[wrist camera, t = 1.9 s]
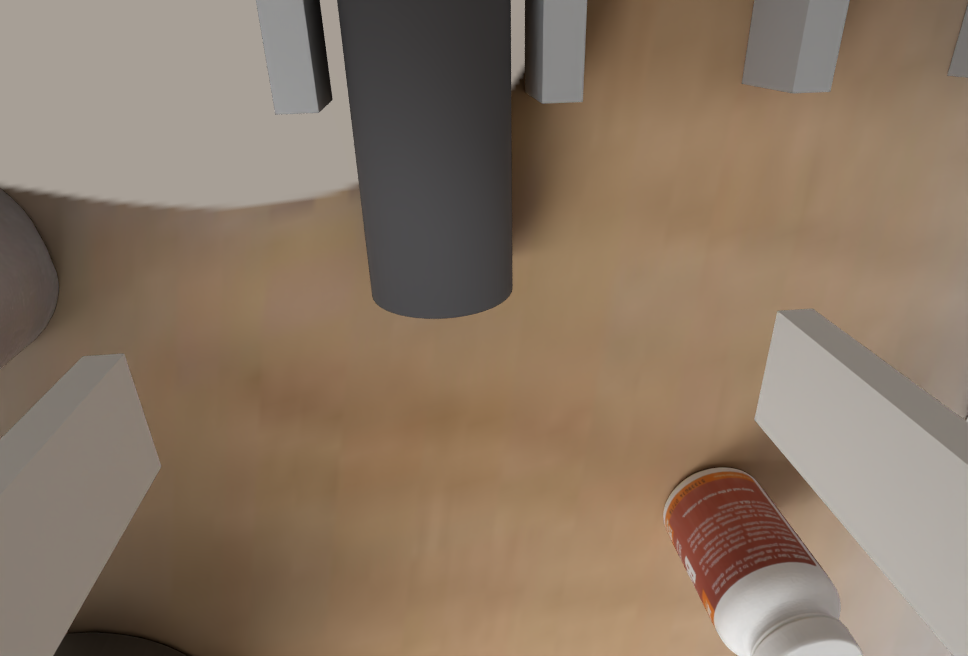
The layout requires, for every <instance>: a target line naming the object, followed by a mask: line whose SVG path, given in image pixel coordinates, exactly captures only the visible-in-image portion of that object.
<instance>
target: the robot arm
mask: <svg viewBox="0 0 968 656" xmlns="http://www.w3.org/2000/svg"><path fill="white" fill-rule="evenodd" d="M755 421H756V422H757V423H758V425H759V426H760V427H761V428H762V429H763V431H764V432H765V433H766V434H767V435H768V437H769V438H770V439H771V440H772V441H773V442H774V444H775V445H776V446H777V447H778V448H779V450H780V451H781V452H782V453H783V454H784V456H785V457H786V458H787V459H788V460H789V461H790V463H791V464H792V465H793V466H794V467H795V469H796V470H797V471H798V472H799V473H800V475H801V476H802V477H803V478H804V479H805V480H806V482H807V483H808V484H809V485H810V486H811V488H812V489H813V490H814V491H815V492H816V494H817V495H818V496H819V497H820V498H821V499H822V501H823V502H824V503H825V504H826V505H827V507H828V508H829V509H830V510H831V511H832V513H833V514H834V515H835V516H836V517H837V518H838V520H839V521H840V522H841V523H842V524H843V526H844V527H845V528H846V529H847V530H848V532H849V533H850V534H851V535H852V536H853V537H854V539H855V540H856V541H857V542H858V543H859V545H860V546H861V547H862V548H863V549H864V551H865V552H866V553H867V554H868V555H869V557H870V558H871V559H872V560H873V561H874V562H875V564H876V565H877V566H878V567H879V568H880V570H881V571H882V572H883V573H884V574H885V576H886V577H887V578H888V579H889V580H890V581H891V583H892V584H893V585H894V586H895V587H896V589H897V590H898V591H899V592H900V593H901V595H902V596H903V597H904V598H905V599H906V600H907V602H908V603H909V604H910V605H911V606H912V608H913V609H914V610H915V611H916V612H917V614H918V615H919V616H920V617H921V618H922V619H923V621H924V622H925V623H926V624H927V625H928V627H929V628H930V629H931V630H932V631H933V633H934V634H935V635H936V636H937V637H938V638H939V640H940V641H941V642H942V643H943V644H944V646H945V647H946V648H947V649H948V650H949V652H950V653H951V654H952V655H953V656H968V422H967V421H965V420H964V419H963V418H961V417H960V416H959V415H957V414H956V413H955V412H953V411H952V410H950V409H949V408H948V407H946V406H945V405H944V404H942V403H941V402H939V401H938V400H937V399H935V398H934V397H933V396H931V395H930V394H929V393H927V392H926V391H924V390H923V389H922V388H920V387H919V386H918V385H916V384H915V383H914V382H912V381H911V380H909V379H908V378H907V377H905V376H904V375H903V374H901V373H900V372H898V371H897V370H896V369H894V368H893V367H892V366H890V365H889V364H888V363H886V362H885V361H883V360H882V359H881V358H879V357H878V356H877V355H875V354H874V353H873V352H871V351H870V350H868V349H867V348H866V347H864V346H863V345H862V344H860V343H859V342H857V341H856V340H855V339H853V338H852V337H851V336H849V335H848V334H847V333H845V332H844V331H842V330H841V329H840V328H838V327H837V326H836V325H834V324H833V323H832V322H830V321H829V320H827V319H826V318H825V317H823V316H822V315H821V314H819V313H818V312H816V311H815V310H814V309H799V310H784V311H777V316H776V320H775V325H774V330H773V335H772V339H771V344H770V349H769V353H768V358H767V363H766V368H765V372H764V377H763V382H762V387H761V391H760V396H759V401H758V405H757V410H756V415H755ZM160 468H161V464H160V460H159V457H158V454H157V451H156V448H155V445H154V442H153V439H152V436H151V433H150V430H149V427H148V424H147V421H146V418H145V415H144V412H143V409H142V406H141V403H140V400H139V397H138V394H137V391H136V388H135V385H134V382H133V379H132V376H131V373H130V369H129V366H128V363H127V360H126V357H125V354H109V355H94V356H82V357H81V358H80V359H79V361H78V362H77V363H76V364H75V365H74V366H73V367H72V368H71V369H70V370H69V371H68V372H67V373H66V374H65V375H64V376H63V377H62V378H61V379H60V380H59V381H58V382H57V383H56V384H55V385H54V386H53V387H52V388H51V389H50V390H49V391H48V392H47V393H46V394H45V395H44V396H43V397H42V398H41V399H40V400H39V401H38V402H37V403H36V404H35V405H34V406H33V407H32V408H31V409H30V410H29V411H28V412H27V413H26V414H25V415H24V416H23V417H22V418H21V419H20V420H19V421H18V422H17V423H16V424H15V425H14V426H13V427H12V428H11V429H10V430H9V431H8V432H7V433H6V434H5V435H4V436H3V437H2V438H1V439H0V656H186V655H185V654H183V653H181V652H179V651H177V650H174V649H172V648H170V647H167V646H165V645H162V644H159V643H156V642H153V641H150V640H146V639H142V638H137V637H133V636H127V635H121V634H112V633H71V634H66V633H67V631H68V629H69V627H70V626H71V624H72V622H73V620H74V619H75V617H76V615H77V613H78V612H79V610H80V608H81V606H82V605H83V603H84V601H85V599H86V598H87V596H88V594H89V592H90V591H91V589H92V587H93V585H94V584H95V582H96V580H97V578H98V577H99V575H100V573H101V571H102V570H103V568H104V566H105V564H106V563H107V561H108V559H109V557H110V556H111V554H112V552H113V550H114V549H115V547H116V545H117V543H118V542H119V540H120V538H121V537H122V535H123V533H124V531H125V530H126V528H127V526H128V524H129V523H130V521H131V519H132V517H133V516H134V514H135V512H136V510H137V509H138V507H139V505H140V503H141V502H142V500H143V498H144V496H145V495H146V493H147V491H148V489H149V488H150V486H151V484H152V482H153V481H154V479H155V477H156V475H157V474H158V472H159V470H160Z"/></svg>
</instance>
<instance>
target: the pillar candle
mask: <svg viewBox="0 0 968 656" xmlns="http://www.w3.org/2000/svg"><path fill="white" fill-rule="evenodd" d="M58 293H59V282H58V276H57V273H56V270H55V268H54V265H53V263H52V261H51V258H50V255H49V253H48V250H47V248H46V246H45V244H44V242H43V240H42V238H41V237H40V235H39V233H38V232H37V230H36V228H35V226H34V224H33V223H32V221H31V219H30V218H29V217H28V215H27V214H26V213H25V211H24V210H23V209H22V208H21V207H20V206H19V205H18V204H17V203H16V202H15V201H14V200H13V199H12V198H11V197H10V196H8V194H7V193H5V192H4V191H3V190H2V189H1V188H0V369H1V368H2V367H3V366H5V365H6V364H7V363H8V362H9V361H10V360H11V359H12V358H14V357H15V356H16V355H17V354H18V353H19V352H21V351H22V350H23V349H24V348H25V347H27V346H28V345H29V344H30V343H31V342H32V341H34V340H35V339H36V337H37V336H38V335H39V334H40V333H41V332H42V331H43V330H44V328H45V327H46V326H47V324H48V322H49V320H50V319H51V317H52V315H53V313H54V310H55V308H56V303H57V299H58Z"/></svg>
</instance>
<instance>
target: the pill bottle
mask: <svg viewBox="0 0 968 656" xmlns="http://www.w3.org/2000/svg"><path fill="white" fill-rule="evenodd" d="M663 519H664V525H665V528H666V530H667V532H668V535H669V537H670V539H671V541H672V543H673V545H674V547H675V549H676V551H677V553H678V555H679V556H680V558H681V560H682V563H683V564H684V567H685V569H686V571H687V572H688V574H689V576H690V578H691V581H692V583H693V585H694V586H695V588H696V590H697V592H698V594H699V596H700V598H701V600H702V603H703V605H704V607H705V609H706V611H707V613H708V615H709V617H710V619H711V621H712V623H713V625H714V627H715V629H716V631H717V632H718V634H719V636H720V638H721V639H722V641H723V642H724V644H725V645H726V646H727V647H728V648H729V649H730V650H731V651H732V652H734V653H735V654H737V655H738V656H863V653H862V651H861V649H860V647H859V646H858V644H857V643H856V641H855V640H854V638H853V637H852V635H851V634H850V632H849V630H848V629H847V627H846V626H845V625H844V624H842V622H841V621H840V620H839V616H840V609H841V606H840V598H839V594H838V592H837V589H836V588H835V586H834V584H833V583H832V581H831V580H830V578H829V577H828V575H827V574H826V573H825V571H824V570H823V568H822V567H821V566H820V564H819V563H818V562H817V560H816V559H815V558H814V556H813V555H812V554H811V552H810V551H809V550H808V548H807V547H806V546H805V544H804V543H803V542H802V540H801V539H800V538H799V536H798V535H797V534H796V532H795V531H794V530H793V528H792V527H791V526H790V524H789V523H788V522H787V520H786V519H785V518H784V516H783V515H782V514H781V512H780V511H779V510H778V508H777V507H776V505H775V504H774V503H773V501H772V500H771V499H770V497H769V496H768V495H767V493H766V492H765V491H764V490H763V488H762V487H761V486H760V485H759V483H758V482H757V481H756V480H755V479H754V478H753V477H752V476H751V475H749V474H748V473H746V472H744V471H741V470H738V469H734V468H725V467H719V468H711V469H707V470H703V471H700V472H697V473H695V474H693V475H691V476H689V477H688V478H686V479H685V480H684V481H682V482H681V483H680V484H679V485H678V486H677V487H676V488H675V489H674V490H673V491H672V493H671V494H670V496H669V498H668V499H667V502H666V504H665V508H664V513H663Z"/></svg>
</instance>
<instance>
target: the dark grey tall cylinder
mask: <svg viewBox="0 0 968 656" xmlns="http://www.w3.org/2000/svg"><path fill="white" fill-rule="evenodd" d="M337 2H338V11H339V18H340V28H341V36H342V44H343V53H344V61H345V70H346V78H347V87H348V95H349V103H350V112H351V120H352V129H353V137H354V145H355V154H356V163H357V170H358V179H359V188H360V196H361V205H362V213H363V222H364V230H365V238H366V247H367V255H368V264H369V272H370V281H371V289H372V297H373V300H374V301H375V303H376V304H377V305H379V306H380V307H381V308H383V309H385V310H387V311H389V312H392V313H395V314H398V315H402V316H407V317H414V318H425V319H441V318H454V317H461V316H467V315H472V314H476V313H479V312H483V311H486V310H488V309H491V308H493V307H495V306H497V305H499V304H500V303H502V302H503V301H505V300H506V299H507V298H508V297H509V296H510V294H511V292H512V147H511V12H510V11H511V3H510V2H511V1H510V0H337Z"/></svg>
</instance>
